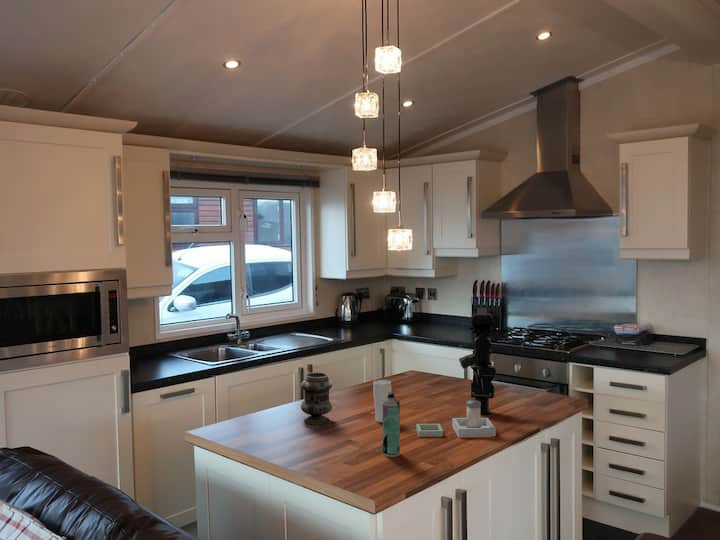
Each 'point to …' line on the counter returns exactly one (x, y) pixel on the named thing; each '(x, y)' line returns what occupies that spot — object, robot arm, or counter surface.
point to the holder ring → (429, 430)
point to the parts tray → (464, 432)
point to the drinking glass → (380, 397)
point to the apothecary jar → (316, 397)
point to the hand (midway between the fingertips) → (482, 389)
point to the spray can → (391, 426)
